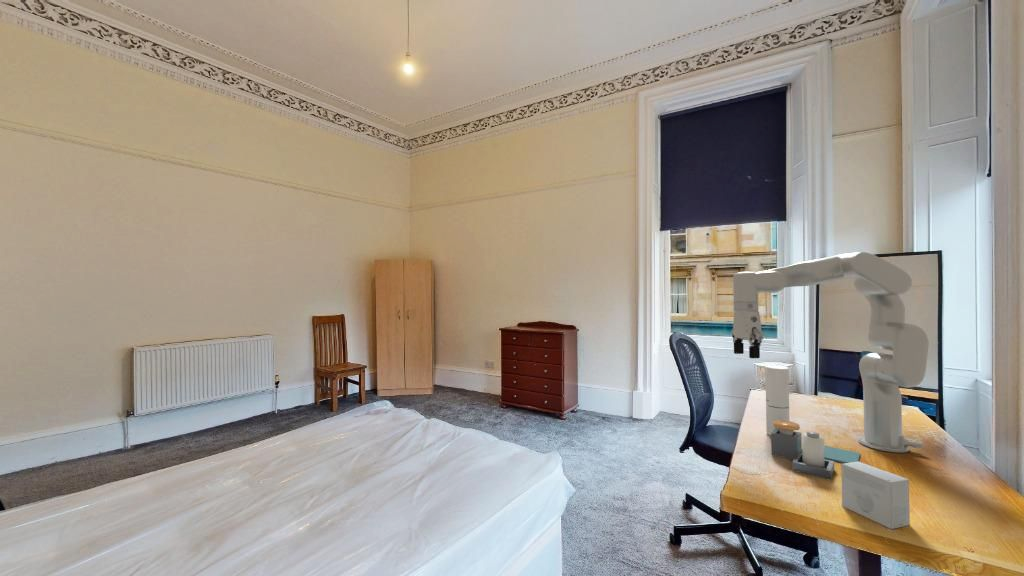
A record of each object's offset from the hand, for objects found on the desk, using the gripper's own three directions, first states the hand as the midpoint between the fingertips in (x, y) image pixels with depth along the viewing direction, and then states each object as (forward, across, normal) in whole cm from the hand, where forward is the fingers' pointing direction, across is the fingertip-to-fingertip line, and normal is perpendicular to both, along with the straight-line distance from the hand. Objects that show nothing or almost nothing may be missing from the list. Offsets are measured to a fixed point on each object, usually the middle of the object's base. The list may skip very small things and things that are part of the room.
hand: (746, 355), depth 138 cm
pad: (+31, -9, -22) cm, 38 cm away
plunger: (+26, -9, -7) cm, 28 cm away
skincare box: (+31, -44, -5) cm, 54 cm away
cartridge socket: (+31, -21, -8) cm, 38 cm away
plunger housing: (+31, -9, -7) cm, 33 cm away
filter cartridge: (+31, -21, -8) cm, 38 cm away
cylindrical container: (+31, +9, -16) cm, 36 cm away
